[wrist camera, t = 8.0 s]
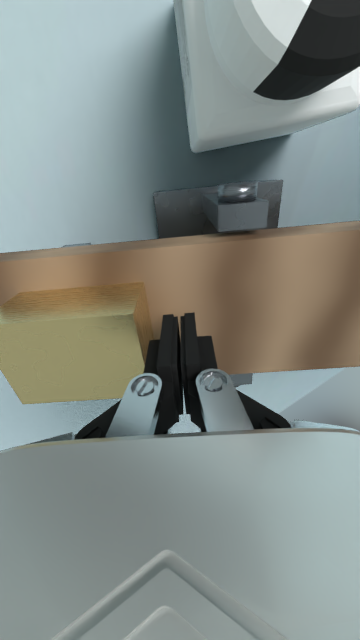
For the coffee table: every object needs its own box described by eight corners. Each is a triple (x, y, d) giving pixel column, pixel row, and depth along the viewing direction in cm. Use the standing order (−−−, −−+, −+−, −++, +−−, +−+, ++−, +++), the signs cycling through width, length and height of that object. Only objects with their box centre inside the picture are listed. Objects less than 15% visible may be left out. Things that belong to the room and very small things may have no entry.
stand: (278, 173, 19) (355, 172, 11) (262, 321, 26) (301, 387, 18) (48, 197, 20) (-43, 213, 11) (94, 334, 27) (58, 404, 19)
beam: (498, 208, 13) (547, 212, 11) (424, 342, 17) (450, 360, 16) (-3, 253, 14) (-28, 264, 12) (53, 367, 19) (40, 386, 17)
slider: (143, 281, 13) (132, 313, 10) (157, 353, 15) (151, 396, 12) (19, 292, 13) (-28, 326, 10) (52, 360, 16) (22, 404, 13)
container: (305, -35, 14) (873, -960, 3) (294, 133, 18) (495, 62, 6) (172, -1, 14) (157, -631, 3) (190, 154, 18) (212, 121, 7)
